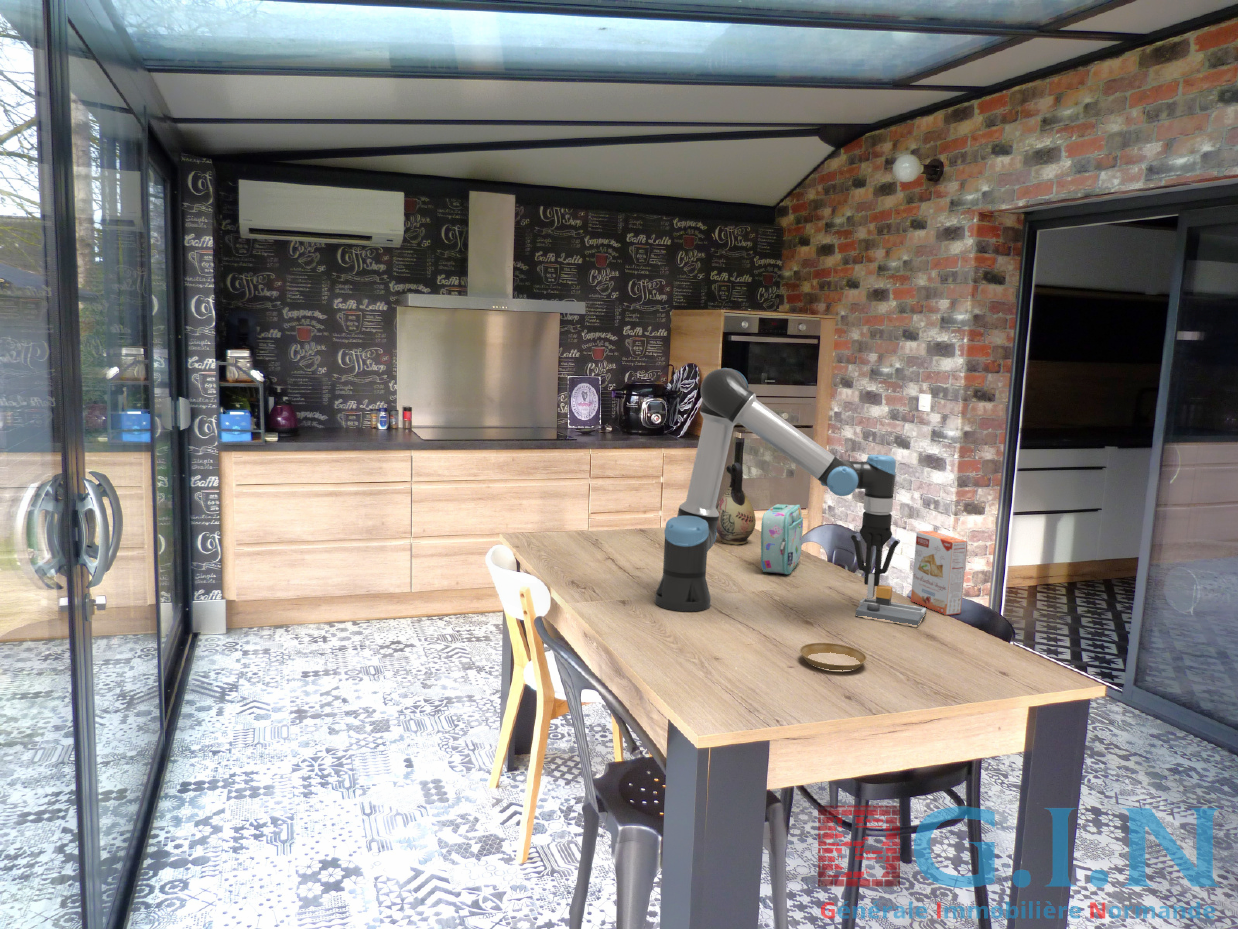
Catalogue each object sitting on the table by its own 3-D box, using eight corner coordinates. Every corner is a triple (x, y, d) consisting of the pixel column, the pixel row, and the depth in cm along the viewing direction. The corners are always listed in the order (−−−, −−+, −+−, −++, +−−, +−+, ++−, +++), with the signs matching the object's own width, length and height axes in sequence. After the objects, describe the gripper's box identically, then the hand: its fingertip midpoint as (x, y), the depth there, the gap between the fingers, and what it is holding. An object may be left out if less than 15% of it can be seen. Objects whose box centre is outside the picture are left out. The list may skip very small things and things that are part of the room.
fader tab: (888, 607, 238) (890, 589, 237) (875, 605, 240) (876, 587, 239) (890, 605, 241) (892, 586, 240) (877, 602, 243) (879, 584, 242)
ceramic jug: (707, 537, 331) (712, 458, 327) (748, 538, 333) (753, 459, 329) (717, 547, 314) (723, 464, 310) (760, 548, 316) (765, 465, 312)
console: (918, 628, 229) (920, 614, 228) (853, 616, 236) (854, 603, 236) (927, 615, 241) (928, 602, 240) (865, 604, 249) (866, 591, 248)
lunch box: (789, 580, 273) (794, 511, 270) (756, 575, 276) (761, 508, 273) (802, 562, 298) (806, 499, 295) (771, 558, 301) (776, 496, 298)
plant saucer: (879, 674, 194) (880, 663, 194) (819, 678, 190) (820, 666, 190) (844, 651, 208) (844, 641, 208) (787, 655, 204) (788, 644, 204)
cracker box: (909, 602, 254) (915, 530, 251) (925, 600, 256) (931, 529, 253) (944, 616, 241) (951, 541, 238) (961, 614, 243) (968, 540, 241)
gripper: (904, 513, 239) (897, 597, 242) (856, 507, 245) (849, 590, 248) (899, 517, 232) (892, 604, 235) (850, 511, 238) (843, 595, 241)
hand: (870, 596), depth 242 cm, fingers closed
